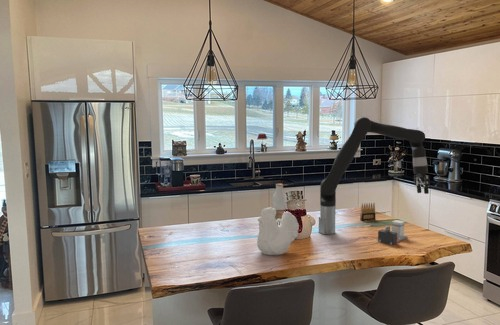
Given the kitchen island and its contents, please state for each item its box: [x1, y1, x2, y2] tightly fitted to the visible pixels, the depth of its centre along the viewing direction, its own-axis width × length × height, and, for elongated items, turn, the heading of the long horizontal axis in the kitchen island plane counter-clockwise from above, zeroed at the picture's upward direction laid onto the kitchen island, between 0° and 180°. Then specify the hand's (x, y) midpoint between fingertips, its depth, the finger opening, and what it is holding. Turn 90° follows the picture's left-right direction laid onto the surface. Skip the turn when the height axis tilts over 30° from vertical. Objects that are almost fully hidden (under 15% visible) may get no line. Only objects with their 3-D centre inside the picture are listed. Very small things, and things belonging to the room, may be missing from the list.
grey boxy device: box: [377, 225, 408, 246], centre depth 224 cm, size 18×9×10 cm, turn 134°
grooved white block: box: [391, 219, 405, 238], centre depth 228 cm, size 5×5×9 cm
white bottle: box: [271, 183, 288, 225], centre depth 257 cm, size 9×9×28 cm
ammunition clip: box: [359, 202, 376, 222], centre depth 272 cm, size 11×2×12 cm, turn 104°
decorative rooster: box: [256, 207, 300, 256], centre depth 208 cm, size 25×16×25 cm, turn 108°
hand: (422, 193), depth 228 cm, fingers open, 8 cm apart
